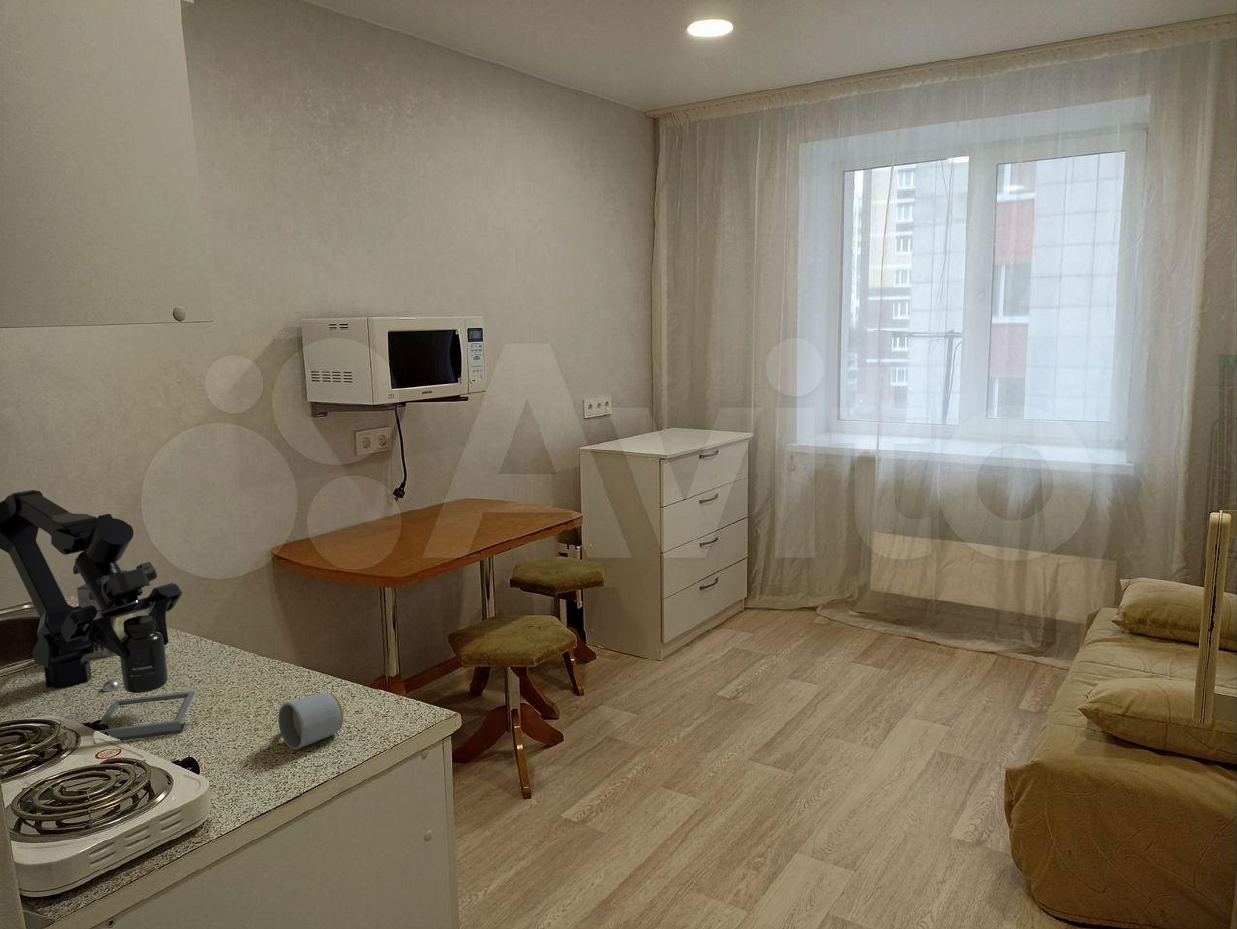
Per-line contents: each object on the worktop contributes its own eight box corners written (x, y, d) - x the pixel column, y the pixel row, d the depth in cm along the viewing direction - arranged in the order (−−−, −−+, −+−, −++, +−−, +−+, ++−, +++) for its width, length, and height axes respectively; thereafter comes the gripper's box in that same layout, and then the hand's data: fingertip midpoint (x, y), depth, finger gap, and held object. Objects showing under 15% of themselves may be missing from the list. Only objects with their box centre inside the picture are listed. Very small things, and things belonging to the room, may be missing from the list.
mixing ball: (101, 700, 162) (99, 684, 162) (105, 693, 165) (104, 678, 165) (119, 698, 163) (117, 682, 163) (123, 691, 166) (121, 676, 165)
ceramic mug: (348, 736, 146) (344, 692, 145) (304, 756, 140) (299, 710, 139) (312, 720, 153) (308, 678, 152) (268, 738, 147) (264, 694, 145)
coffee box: (117, 662, 180) (108, 587, 178) (84, 664, 180) (75, 588, 177) (137, 646, 189) (128, 574, 187) (105, 648, 189) (96, 575, 186)
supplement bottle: (139, 697, 148) (130, 630, 146) (115, 688, 151) (106, 622, 149) (177, 682, 154) (169, 616, 151) (154, 674, 157) (146, 610, 155)
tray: (94, 744, 145) (93, 732, 145) (116, 710, 158) (115, 700, 157) (180, 732, 149) (179, 721, 148) (195, 701, 161) (194, 690, 161)
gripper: (61, 564, 143) (106, 642, 139) (171, 539, 158) (214, 608, 154) (42, 603, 148) (85, 679, 144) (150, 574, 164) (191, 642, 160)
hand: (146, 650), depth 151 cm, fingers closed on supplement bottle, 7 cm apart
